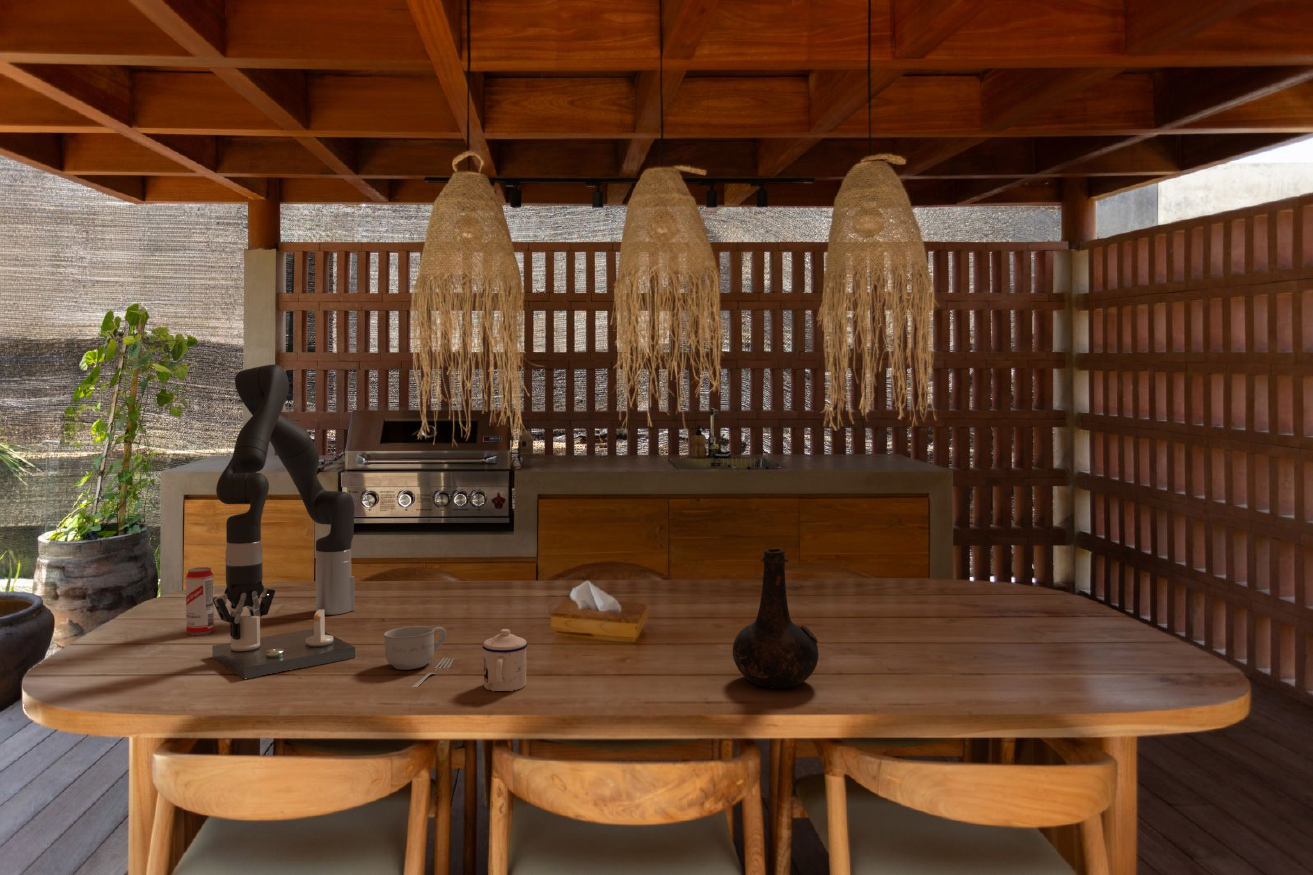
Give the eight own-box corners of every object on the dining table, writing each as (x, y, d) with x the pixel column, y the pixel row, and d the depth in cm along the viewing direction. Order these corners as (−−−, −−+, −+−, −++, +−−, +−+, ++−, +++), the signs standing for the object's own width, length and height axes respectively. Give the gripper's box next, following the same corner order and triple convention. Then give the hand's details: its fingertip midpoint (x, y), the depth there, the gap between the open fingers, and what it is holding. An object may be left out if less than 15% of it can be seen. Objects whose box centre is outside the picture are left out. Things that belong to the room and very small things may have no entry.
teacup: (389, 676, 190) (389, 639, 190) (379, 662, 199) (379, 627, 199) (454, 667, 196) (454, 631, 196) (442, 654, 206) (441, 620, 206)
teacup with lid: (487, 678, 189) (487, 624, 188) (530, 679, 189) (530, 624, 188) (475, 697, 177) (475, 639, 176) (520, 698, 177) (520, 640, 176)
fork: (389, 700, 176) (389, 692, 176) (442, 664, 199) (442, 657, 199) (404, 702, 175) (404, 693, 175) (455, 666, 199) (455, 658, 199)
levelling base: (317, 638, 219) (317, 621, 219) (355, 657, 203) (355, 640, 203) (212, 656, 203) (212, 638, 203) (244, 679, 187) (244, 660, 187)
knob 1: (265, 644, 204) (264, 612, 204) (252, 651, 198) (251, 618, 198) (236, 643, 204) (236, 611, 204) (222, 650, 198) (222, 618, 198)
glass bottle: (818, 698, 177) (820, 559, 176) (728, 693, 180) (730, 555, 179) (817, 671, 195) (819, 544, 194) (735, 667, 198) (736, 541, 197)
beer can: (202, 636, 220) (201, 572, 219) (180, 635, 221) (179, 571, 220) (220, 630, 226) (219, 567, 225) (198, 628, 227) (197, 566, 226)
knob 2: (307, 639, 208) (307, 608, 207) (335, 638, 209) (334, 607, 209) (302, 647, 201) (302, 615, 201) (330, 646, 202) (330, 614, 202)
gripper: (221, 568, 192) (222, 647, 193) (282, 559, 204) (283, 633, 204) (204, 564, 197) (205, 641, 198) (265, 555, 208) (266, 628, 209)
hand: (245, 636), depth 201 cm, fingers open, 3 cm apart
